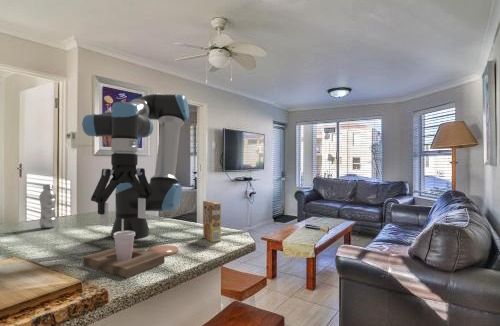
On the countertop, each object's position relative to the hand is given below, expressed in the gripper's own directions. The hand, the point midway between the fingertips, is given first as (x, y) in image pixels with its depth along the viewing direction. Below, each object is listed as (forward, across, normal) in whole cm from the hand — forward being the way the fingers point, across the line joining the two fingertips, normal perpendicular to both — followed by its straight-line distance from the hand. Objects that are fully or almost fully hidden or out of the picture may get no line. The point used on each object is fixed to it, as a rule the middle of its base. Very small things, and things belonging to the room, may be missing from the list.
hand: (123, 221), depth 94 cm
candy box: (+13, +38, -6) cm, 40 cm away
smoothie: (+14, 0, 0) cm, 14 cm away
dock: (+13, 0, 0) cm, 13 cm away
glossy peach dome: (+13, +16, -1) cm, 20 cm away
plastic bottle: (+13, +14, +70) cm, 73 cm away
